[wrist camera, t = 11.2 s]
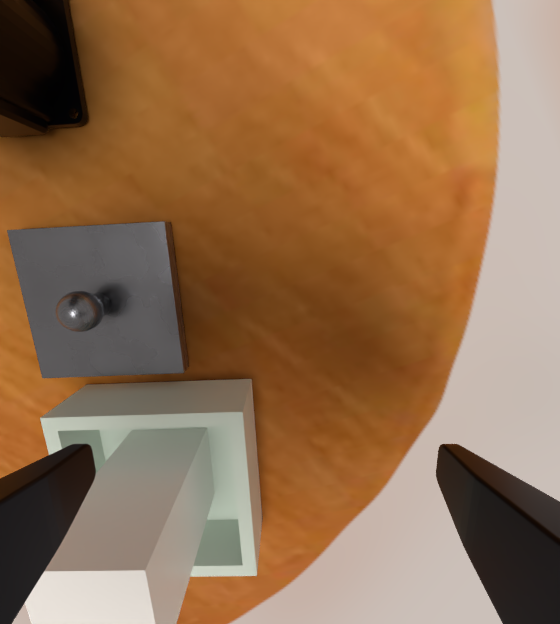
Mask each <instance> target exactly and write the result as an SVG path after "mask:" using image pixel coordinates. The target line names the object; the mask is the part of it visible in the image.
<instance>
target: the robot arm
mask: <svg viewBox="0 0 560 624" xmlns="http://www.w3.org/2000/svg"><path fill="white" fill-rule="evenodd" d="M76 111H78V116H77V118H75V119H74V113H75V112H76ZM86 122H87V111H86V105H85V99H84V93H83V87H82V81H81V75H80V70H79V64H78V58H77V52H76V46H75V40H74V34H73V29H72V23H71V17H70V11H69V5H68V0H0V136H1V137H13V136H28V135H42V134H46V133H47V132H48V131H49V128H64V127H78V126H83V125H84V124H85V123H86ZM95 475H96V468H95V462H94V457H93V451H92V447H91V446H90V445H89V444H71V445H69V446H67V447H65V448H63V449H61V450H59V451H57V452H55V453H52V454H50V455H48V456H46V457H44V458H42V459H40V460H38V461H36V462H34V463H32V464H30V465H28V466H25V467H23V468H21V469H19V470H17V471H15V472H13V473H11V474H9V475H7V476H5V477H3V478H1V479H0V624H12V622H13V621H14V619H15V617H16V616H17V614H18V613H19V611H20V609H21V608H22V606H23V605H24V603H25V601H26V600H27V598H28V597H29V595H30V593H31V592H32V590H33V589H34V587H35V585H36V584H37V582H38V581H39V579H40V577H41V576H42V574H43V573H44V571H45V569H46V568H47V566H48V565H49V563H50V561H51V560H52V558H53V557H54V555H55V553H56V552H57V550H58V548H59V547H60V545H61V543H62V541H63V540H64V538H65V536H66V534H67V532H68V530H69V528H70V526H71V524H72V523H73V521H74V519H75V517H76V515H77V513H78V511H79V509H80V507H81V505H82V503H83V501H84V499H85V497H86V495H87V493H88V491H89V489H90V488H91V486H92V484H93V482H94V479H95ZM436 477H437V481H438V484H439V487H440V489H441V491H442V494H443V496H444V499H445V501H446V504H447V507H448V509H449V512H450V514H451V516H452V519H453V521H454V524H455V527H456V529H457V532H458V534H459V536H460V539H461V541H462V543H463V546H464V548H465V550H466V552H467V554H468V556H469V558H470V560H471V562H472V564H473V566H474V568H475V570H476V572H477V574H478V576H479V578H480V580H481V582H482V584H483V586H484V588H485V590H486V592H487V594H488V596H489V597H490V599H491V601H492V603H493V605H494V607H495V609H496V611H497V613H498V615H499V617H500V619H501V621H502V623H503V624H560V502H559V501H557V500H556V499H554V498H552V497H550V496H549V495H547V494H545V493H543V492H542V491H540V490H538V489H536V488H534V487H532V486H531V485H529V484H527V483H525V482H524V481H522V480H520V479H518V478H516V477H515V476H513V475H511V474H510V473H508V472H506V471H504V470H503V469H501V468H499V467H497V466H496V465H494V464H492V463H490V462H488V461H487V460H485V459H483V458H481V457H479V456H478V455H476V454H474V453H472V452H471V451H469V450H467V449H465V448H464V447H462V446H460V445H458V444H442V445H440V447H439V451H438V459H437V469H436Z"/></svg>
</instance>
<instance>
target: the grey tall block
mask: <svg viewBox="0 0 560 624" xmlns="http://www.w3.org/2000/svg"><path fill="white" fill-rule="evenodd" d="M214 494H215V491H214V482H213V474H212V465H211V457H210V448H209V440H208V431H207V428H190V429H156V430H132V431H131V432H130V433H129V434H128V435H127V437H126V438H125V439H124V440H123V441H122V443H121V444H120V445H119V446H118V448H117V449H116V450H115V451H114V452H113V454H112V455H111V456H110V457H109V458H108V460H107V461H106V462H105V463H104V465H103V466H102V467H101V468H100V469H99V471H98V472H97V473H96V475H95V479H94V482H93V484H92V486H91V488H90V489H89V491H88V493H87V495H86V497H85V499H84V501H83V503H82V505H81V507H80V509H79V511H78V513H77V515H76V517H75V519H74V521H73V523H72V524H71V526H70V528H69V530H68V532H67V534H66V536H65V538H64V540H63V541H62V543H61V545H60V547H59V548H58V550H57V552H56V553H55V555H54V557H53V558H52V560H51V561H50V563H49V565H48V566H47V568H46V569H45V571H44V573H43V574H42V576H41V577H40V579H39V581H38V582H37V584H36V585H35V587H34V589H33V590H32V592H31V593H30V595H29V597H28V598H27V600H26V601H25V605H26V608H27V611H28V614H29V618H30V621H31V624H176V623H177V620H178V616H179V613H180V609H181V606H182V603H183V599H184V596H185V592H186V589H187V586H188V582H189V579H190V575H191V572H192V569H193V565H194V562H195V558H196V555H197V552H198V548H199V545H200V541H201V538H202V534H203V531H204V528H205V524H206V521H207V517H208V514H209V511H210V507H211V504H212V500H213V497H214Z"/></svg>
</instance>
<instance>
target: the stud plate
mask: <svg viewBox="0 0 560 624" xmlns="http://www.w3.org/2000/svg"><path fill="white" fill-rule="evenodd" d="M7 232H8V236H9V241H10V245H11V249H12V253H13V257H14V261H15V266H16V270H17V274H18V278H19V282H20V286H21V291H22V295H23V299H24V303H25V307H26V311H27V316H28V320H29V324H30V328H31V332H32V336H33V341H34V345H35V349H36V353H37V357H38V361H39V366H40V370H41V374H42V378H61V377H89V376H117V375H144V374H172V373H184V372H185V371H186V370H187V369H188V367H189V363H188V355H187V347H186V339H185V331H184V323H183V315H182V307H181V299H180V291H179V283H178V275H177V267H176V259H175V251H174V243H173V235H172V227H171V222H165V221H164V222H146V223H128V224H110V225H92V226H74V227H56V228H39V229H21V230H7Z"/></svg>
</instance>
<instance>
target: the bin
mask: <svg viewBox="0 0 560 624" xmlns="http://www.w3.org/2000/svg"><path fill="white" fill-rule="evenodd" d="M40 420H41V424H42V428H43V432H44V436H45V440H46V444H47V448H48V452H49V455H50V454H52V453H55V452H57V451H59V450H61V449H63V448H65V447H67V446H69V445H71V444H89V445H90V446H91V447H92V451H93V457H94V462H95V468H96V473H97V472H98V471H99V469H100V468H101V467H102V466H103V465H104V463H105V462H106V461H107V460H108V458H109V457H110V456H111V455H112V454H113V452H114V451H115V450H116V449H117V448H118V446H119V445H120V444H121V443H122V441H123V440H124V439H125V438H126V437H127V435H128V434H129V433H130V432H131V431H132V430H156V429H190V428H207V431H208V440H209V448H210V457H211V465H212V474H213V482H214V491H215V494H214V497H213V500H212V504H211V507H210V511H209V514H208V517H207V521H206V524H205V528H204V531H203V534H202V538H201V541H200V545H199V548H198V552H197V555H196V558H195V562H194V565H193V569H192V572H191V575H190V576H257V569H258V559H259V549H260V538H261V528H262V507H261V494H260V481H259V468H258V455H257V442H256V429H255V417H254V404H253V391H252V379H231V380H202V381H174V382H145V383H117V384H88V385H85V386H84V387H83V388H81V389H80V390H78V391H77V392H76V393H74V394H73V395H71V396H70V397H69V398H67V399H66V400H64V401H63V402H62V403H60V404H59V405H58V406H56V407H55V408H53V409H52V410H51V411H49V412H48V413H46V414H45V415H44V416H42V417H41V418H40Z"/></svg>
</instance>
